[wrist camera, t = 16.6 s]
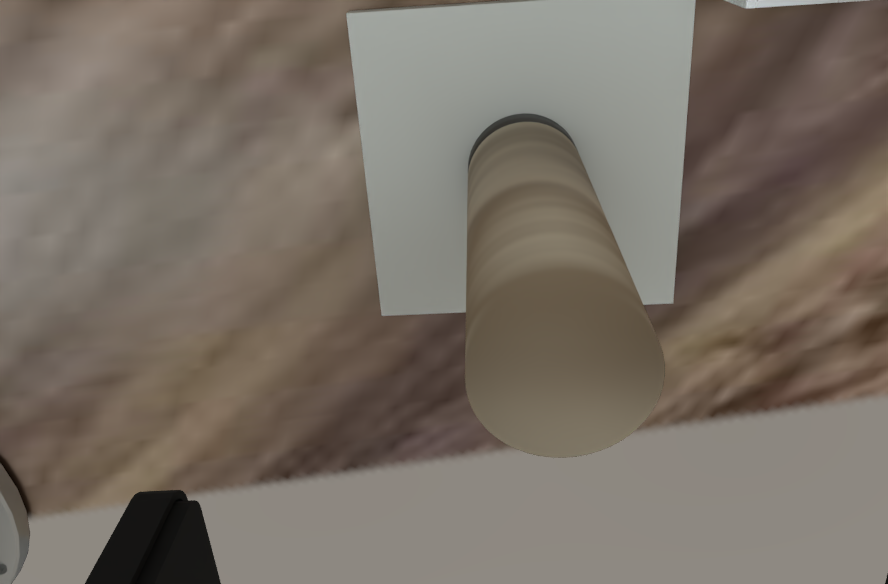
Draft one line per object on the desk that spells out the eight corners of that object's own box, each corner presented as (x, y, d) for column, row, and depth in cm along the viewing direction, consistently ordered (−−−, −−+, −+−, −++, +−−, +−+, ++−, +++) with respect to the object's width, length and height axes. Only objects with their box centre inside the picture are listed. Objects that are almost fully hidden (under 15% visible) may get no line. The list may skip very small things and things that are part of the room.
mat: (669, 295, 27) (673, 303, 26) (383, 308, 27) (381, 315, 27) (690, -12, 22) (696, -11, 22) (349, 10, 23) (346, 13, 22)
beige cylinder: (578, 217, 25) (659, 454, 14) (470, 223, 25) (470, 460, 14) (580, 109, 23) (670, 285, 13) (464, 116, 24) (459, 294, 13)
